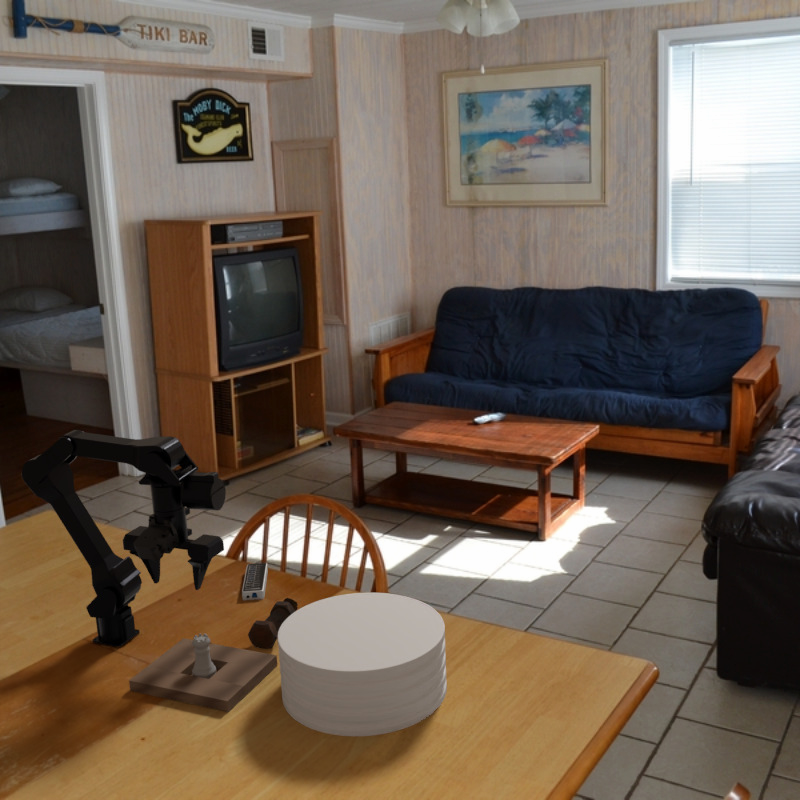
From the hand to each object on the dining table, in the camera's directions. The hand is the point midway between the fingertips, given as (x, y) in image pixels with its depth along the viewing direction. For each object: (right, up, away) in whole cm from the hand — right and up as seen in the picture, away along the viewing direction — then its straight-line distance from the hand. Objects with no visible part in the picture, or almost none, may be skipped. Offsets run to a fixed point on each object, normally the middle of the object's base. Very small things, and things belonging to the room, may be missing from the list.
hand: (177, 585), depth 183 cm
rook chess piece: (+7, -15, -9) cm, 19 cm away
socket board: (+7, -14, -9) cm, 19 cm away
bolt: (+18, -10, +7) cm, 22 cm away
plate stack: (+35, -15, -15) cm, 41 cm away
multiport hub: (+11, -6, +28) cm, 30 cm away
